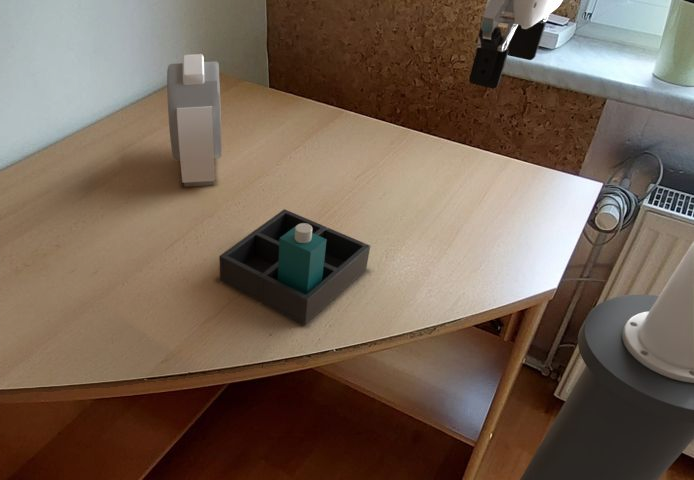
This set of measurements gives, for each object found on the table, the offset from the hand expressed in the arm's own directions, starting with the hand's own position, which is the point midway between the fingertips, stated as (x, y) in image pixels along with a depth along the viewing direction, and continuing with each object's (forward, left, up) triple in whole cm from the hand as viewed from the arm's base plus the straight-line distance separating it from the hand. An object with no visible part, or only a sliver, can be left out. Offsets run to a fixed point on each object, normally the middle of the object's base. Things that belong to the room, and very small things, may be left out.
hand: (502, 70), depth 71 cm
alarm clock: (+48, +2, -28) cm, 56 cm away
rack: (+16, +16, -28) cm, 36 cm away
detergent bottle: (+12, +20, -28) cm, 36 cm away
